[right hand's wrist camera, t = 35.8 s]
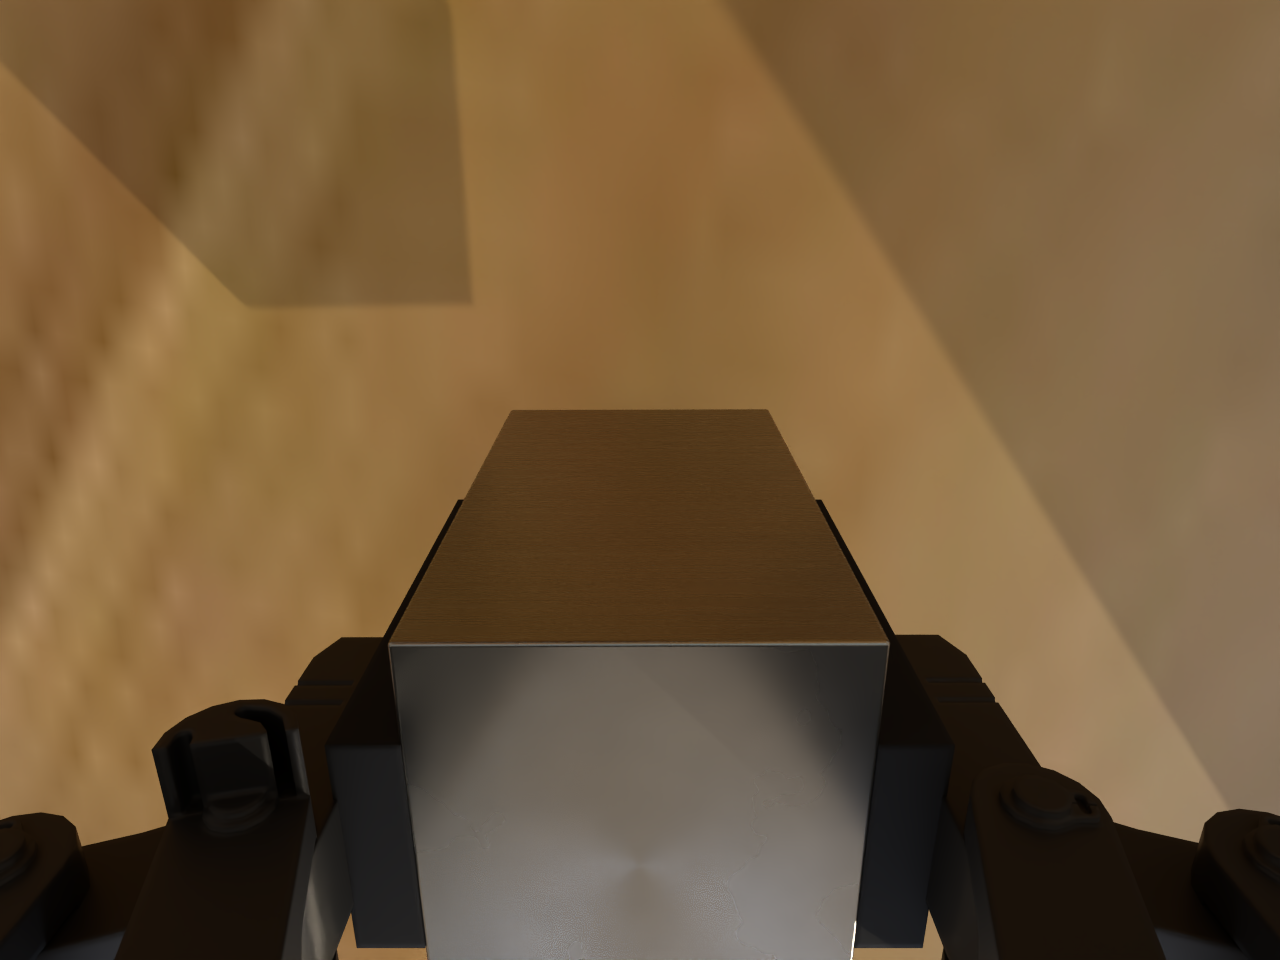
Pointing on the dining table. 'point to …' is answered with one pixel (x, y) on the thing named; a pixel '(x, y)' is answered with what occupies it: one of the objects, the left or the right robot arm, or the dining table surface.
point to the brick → (639, 700)
